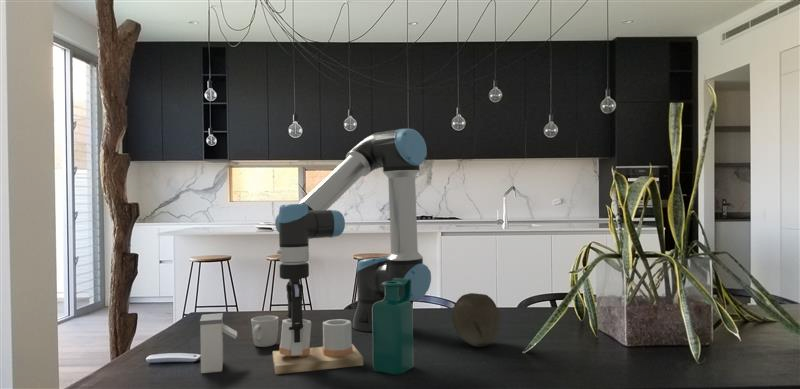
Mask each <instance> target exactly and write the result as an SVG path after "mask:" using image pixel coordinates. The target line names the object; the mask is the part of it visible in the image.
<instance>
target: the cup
mask: <svg viewBox="0 0 800 389" xmlns="http://www.w3.org/2000/svg"><path fill="white" fill-rule="evenodd" d="M279 320H280V319H279V316H277V315H258V316H255V317H252V318H251V319H250V323H251V332H252V333H251V334H252V340H253V344H254V345H255V346H256V347H258V348H267V347H272V346H275V344H277V341H278V332H279V322H280V321H279Z"/></svg>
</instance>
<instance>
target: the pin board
mask: <svg viewBox="0 0 800 389" xmlns="http://www.w3.org/2000/svg"><path fill="white" fill-rule="evenodd" d="M352 348H353V353H351V354H348V355H346V356H337V357H332V356H325V355H324V354H323V352H322V346H319V347H318V346H317V347H316V346H315V347H310V354H307V355H304V356H287V355H283V354H280V352H279V350H273V351H272V362H273V367H274V373H275V375H282V374H290V373H301V372H313V371H319V370H330V369H331V370H332V369H341V368H348V367H349V368H350V367H359V366H361V367H362V366H364V356H362V354H361V352H360V351H359V350H358V349H357V348H356V346H355V345H354V344H353V343H352Z"/></svg>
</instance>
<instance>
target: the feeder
mask: <svg viewBox="0 0 800 389" xmlns="http://www.w3.org/2000/svg"><path fill="white" fill-rule="evenodd" d="M223 317H224V313H223V312H221V313H219V312H218V313H208V314H202V315H201V316H200V320H199V326H200V328H199V329H200V330H199V331H200V333H199V334H200V374H209V373H219V372H222V371H223V367H224V366H223V365H224V336H223V335H224V334H226V335H228V336H229V337H231V338H233V339H234V340H236V339H237V337H238V331H237V330H235V329H233V328H231V327H229V326H228V325H227V324H225V323H224V321H223V319H224V318H223ZM223 333H224V334H223Z"/></svg>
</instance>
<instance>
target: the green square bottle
mask: <svg viewBox="0 0 800 389" xmlns="http://www.w3.org/2000/svg"><path fill="white" fill-rule="evenodd" d="M381 285H382V286H385V297H384V299H382V300H380V301H377V302H375V303H374V304H373V306H372V331H371V332H372V338H371V339H372V369H373V371H374V372H377V373H383V374H389V375H393V376H394V375H396V376H397V375H402V374H405V373H406V372H407V371H409V370H411V369H413V367H414V326H413V325H414V324H413V323H414V319H413V318H414V316H413V312H414V310H413V304H412V302H411V300H410V296H411V279H400V278H393V280H392V281H387V282H383V283H382V284H381Z"/></svg>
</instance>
